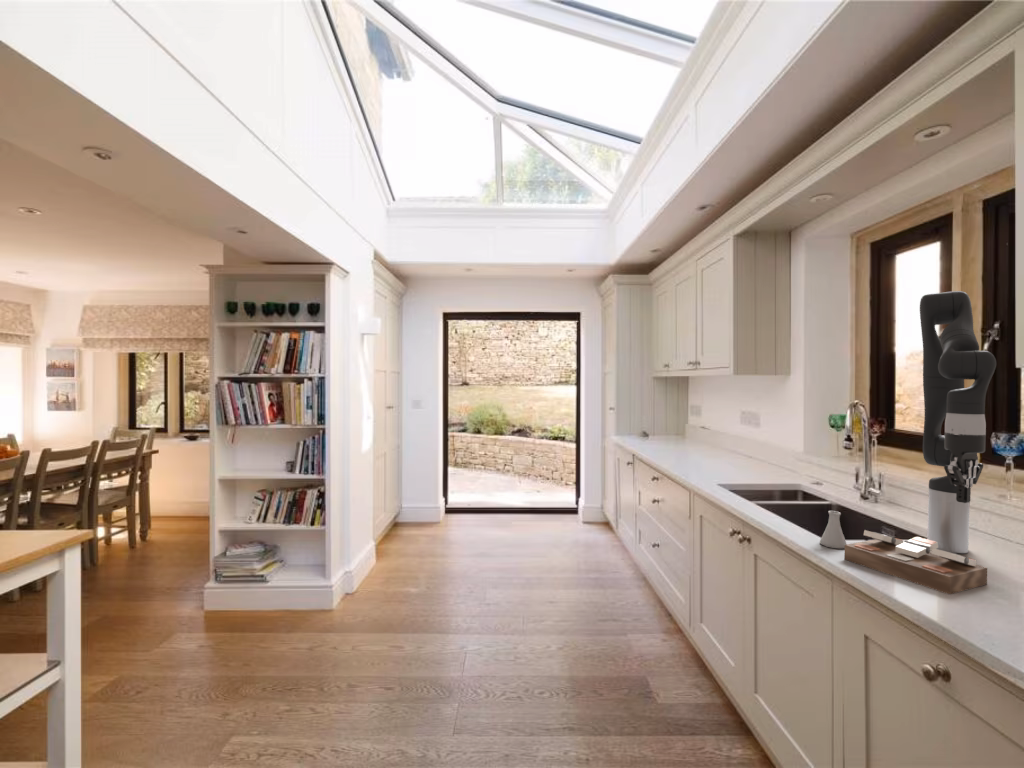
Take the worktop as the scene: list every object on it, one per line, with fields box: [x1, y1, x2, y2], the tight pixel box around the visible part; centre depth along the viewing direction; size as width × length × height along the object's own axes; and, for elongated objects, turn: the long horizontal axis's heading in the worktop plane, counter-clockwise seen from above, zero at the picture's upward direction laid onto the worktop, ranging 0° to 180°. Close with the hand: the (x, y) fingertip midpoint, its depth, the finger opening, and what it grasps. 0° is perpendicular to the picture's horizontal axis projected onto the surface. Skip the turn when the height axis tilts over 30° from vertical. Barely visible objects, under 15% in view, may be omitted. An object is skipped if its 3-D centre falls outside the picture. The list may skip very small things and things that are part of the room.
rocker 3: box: [931, 548, 977, 566], centre depth 123 cm, size 9×5×2 cm, turn 114°
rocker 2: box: [895, 536, 938, 558], centre depth 131 cm, size 9×5×2 cm, turn 114°
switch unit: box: [844, 539, 988, 595], centre depth 130 cm, size 16×24×4 cm, turn 24°
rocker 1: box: [863, 529, 904, 545], centre depth 138 cm, size 9×5×2 cm, turn 114°
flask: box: [819, 510, 848, 550], centre depth 150 cm, size 7×7×10 cm
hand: (963, 502), depth 125 cm, fingers closed
